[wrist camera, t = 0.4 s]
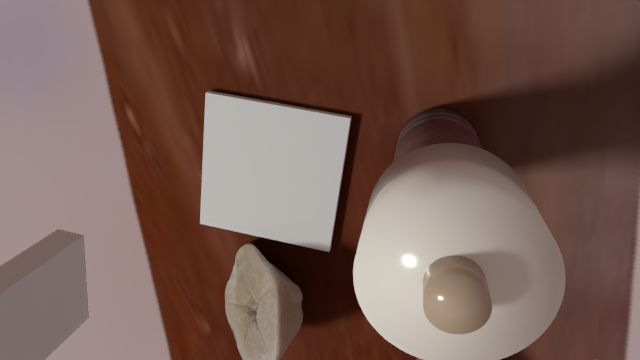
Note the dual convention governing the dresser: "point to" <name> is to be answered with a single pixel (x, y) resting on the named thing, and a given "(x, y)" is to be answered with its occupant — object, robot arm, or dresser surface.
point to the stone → (261, 306)
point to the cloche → (456, 257)
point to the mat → (272, 169)
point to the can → (435, 131)
